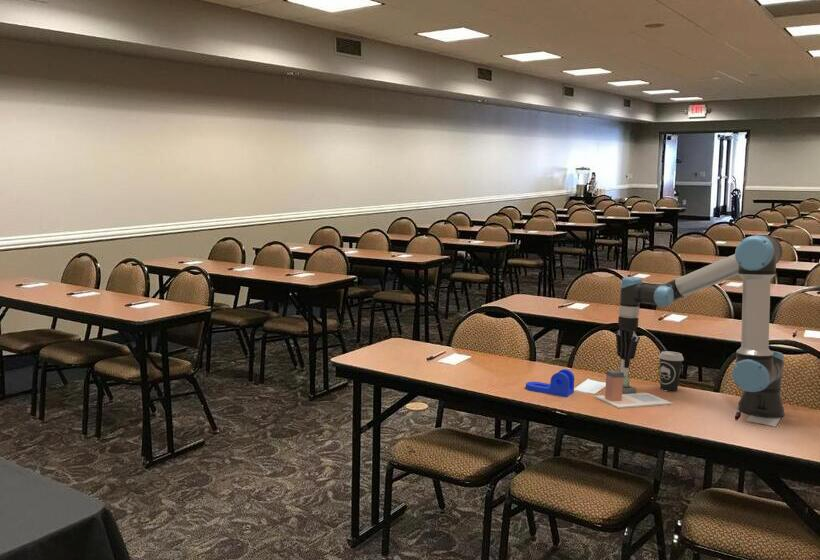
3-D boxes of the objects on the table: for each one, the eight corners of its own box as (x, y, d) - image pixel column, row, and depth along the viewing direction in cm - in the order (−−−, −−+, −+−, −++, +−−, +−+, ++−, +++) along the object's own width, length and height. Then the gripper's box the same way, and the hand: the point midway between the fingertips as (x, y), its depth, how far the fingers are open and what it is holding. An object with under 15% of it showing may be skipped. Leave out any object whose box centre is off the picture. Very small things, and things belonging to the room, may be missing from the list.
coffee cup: (683, 393, 276) (686, 356, 275) (658, 391, 278) (661, 354, 277) (679, 387, 286) (681, 351, 284) (654, 385, 288) (657, 350, 286)
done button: (631, 388, 273) (631, 378, 273) (622, 389, 272) (623, 379, 272) (624, 385, 277) (625, 376, 277) (616, 386, 276) (616, 376, 275)
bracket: (573, 392, 272) (574, 370, 271) (567, 397, 265) (568, 374, 264) (529, 385, 281) (531, 363, 280) (522, 390, 273) (523, 367, 273)
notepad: (672, 404, 260) (672, 402, 259) (618, 408, 252) (618, 406, 252) (646, 393, 274) (646, 392, 274) (594, 397, 266) (594, 395, 266)
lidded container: (622, 400, 260) (624, 372, 259) (611, 401, 258) (613, 373, 257) (614, 397, 264) (616, 370, 263) (604, 397, 263) (606, 370, 262)
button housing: (636, 394, 273) (636, 388, 272) (621, 395, 270) (621, 389, 270) (625, 389, 279) (625, 383, 279) (610, 390, 277) (610, 384, 277)
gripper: (647, 319, 267) (642, 378, 269) (626, 313, 279) (621, 370, 281) (631, 319, 264) (626, 379, 267) (610, 313, 276) (606, 371, 279)
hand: (624, 375), depth 274 cm, fingers closed
